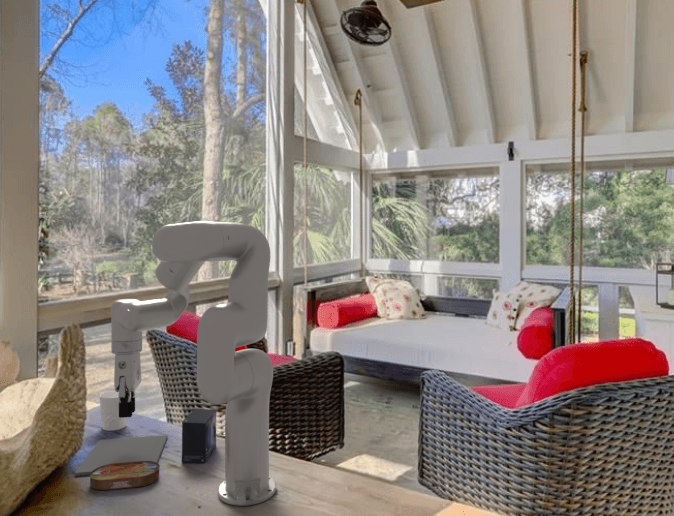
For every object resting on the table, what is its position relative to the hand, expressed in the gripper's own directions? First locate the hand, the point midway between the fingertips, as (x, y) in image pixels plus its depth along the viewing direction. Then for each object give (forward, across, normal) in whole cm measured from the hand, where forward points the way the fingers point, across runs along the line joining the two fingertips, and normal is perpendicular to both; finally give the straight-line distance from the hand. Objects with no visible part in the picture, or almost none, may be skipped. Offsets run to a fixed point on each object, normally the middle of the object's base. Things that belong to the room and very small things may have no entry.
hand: (127, 414), depth 130 cm
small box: (+10, -6, -19) cm, 23 cm away
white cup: (+10, +19, +8) cm, 23 cm away
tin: (+9, -14, -4) cm, 16 cm away
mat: (+10, -3, 0) cm, 10 cm away
